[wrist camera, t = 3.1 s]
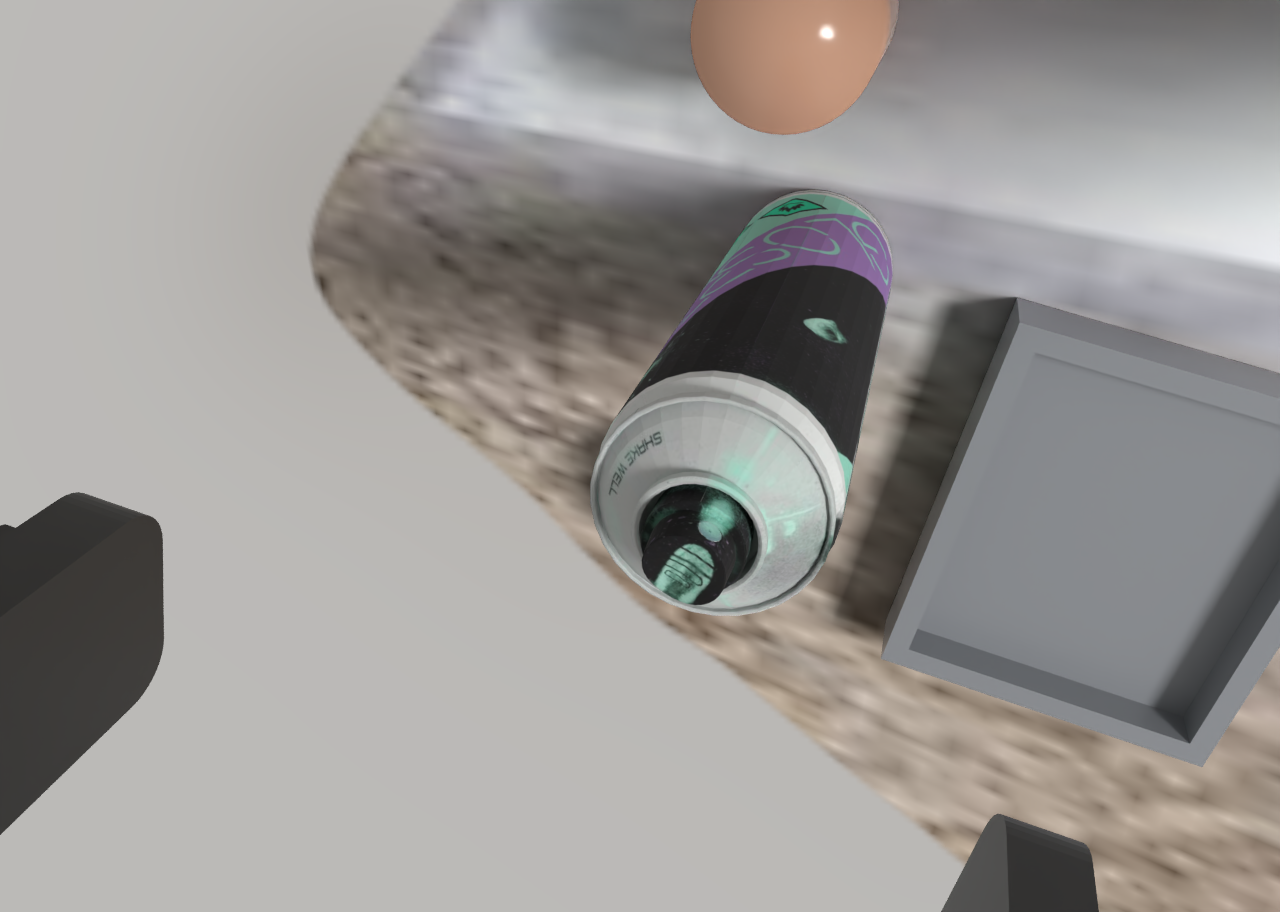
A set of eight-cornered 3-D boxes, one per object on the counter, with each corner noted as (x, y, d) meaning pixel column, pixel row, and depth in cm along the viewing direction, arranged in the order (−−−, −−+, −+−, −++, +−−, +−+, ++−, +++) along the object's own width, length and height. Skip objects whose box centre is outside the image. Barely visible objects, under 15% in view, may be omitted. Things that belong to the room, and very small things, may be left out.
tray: (1017, 297, 37) (1019, 322, 35) (1387, 404, 36) (1413, 437, 33) (885, 621, 44) (881, 658, 42) (1190, 722, 43) (1202, 767, 40)
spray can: (898, 189, 37) (831, 455, 19) (889, 345, 39) (823, 704, 22) (734, 187, 38) (536, 433, 21) (735, 338, 40) (559, 670, 23)
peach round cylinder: (761, -96, 34) (715, -92, 28) (921, -55, 33) (909, -43, 27) (721, 71, 36) (672, 106, 30) (870, 111, 36) (848, 156, 30)
